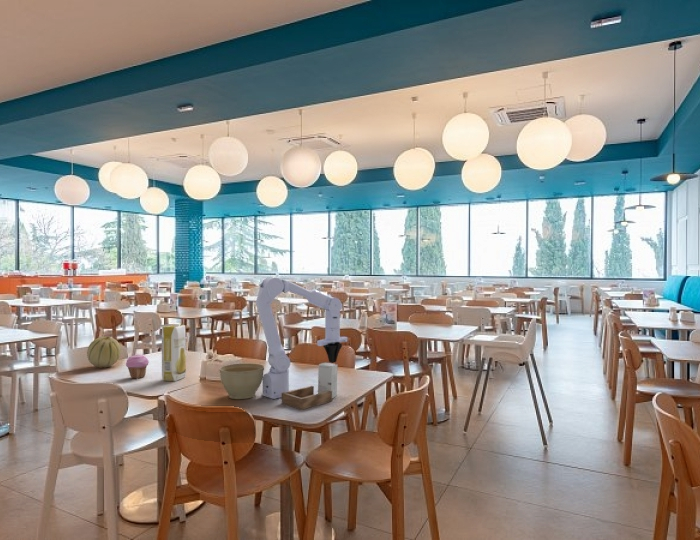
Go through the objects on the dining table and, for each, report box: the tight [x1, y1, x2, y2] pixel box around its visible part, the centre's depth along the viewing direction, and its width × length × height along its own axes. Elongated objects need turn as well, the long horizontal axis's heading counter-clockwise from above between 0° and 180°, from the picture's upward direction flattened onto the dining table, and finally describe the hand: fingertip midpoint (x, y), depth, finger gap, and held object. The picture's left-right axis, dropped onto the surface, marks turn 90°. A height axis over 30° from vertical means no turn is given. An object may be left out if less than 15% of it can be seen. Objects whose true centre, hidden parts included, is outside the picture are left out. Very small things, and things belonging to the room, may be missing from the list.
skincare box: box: [317, 362, 338, 399], centre depth 174 cm, size 6×4×12 cm
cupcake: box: [125, 354, 150, 379], centre depth 205 cm, size 9×9×10 cm
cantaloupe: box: [86, 335, 122, 368], centre depth 226 cm, size 15×15×15 cm
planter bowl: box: [219, 362, 265, 400], centre depth 175 cm, size 16×16×11 cm
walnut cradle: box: [281, 385, 333, 410], centre depth 167 cm, size 14×11×4 cm
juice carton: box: [161, 322, 187, 382], centre depth 202 cm, size 9×8×24 cm
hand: (332, 362), depth 186 cm, fingers closed
